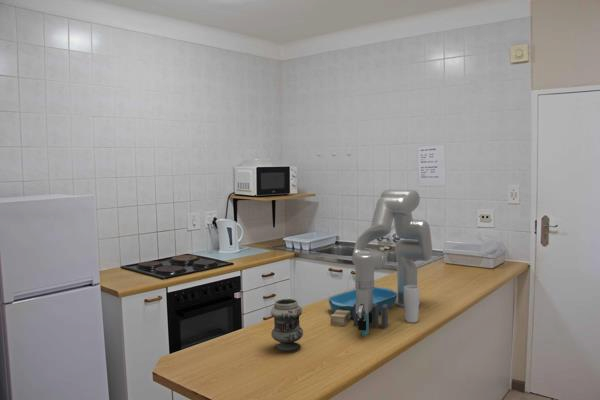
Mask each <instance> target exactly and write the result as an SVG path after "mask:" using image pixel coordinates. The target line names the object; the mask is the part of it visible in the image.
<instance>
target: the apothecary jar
mask: <svg viewBox="0 0 600 400" xmlns="http://www.w3.org/2000/svg"><path fill="white" fill-rule="evenodd" d="M270 314H271V316H272V317H273V318H274V319H273V320H274V322H273V323H274V324H273V325H274V326H273V327H274V328H273V329H272V331H271V332H270V333H271V335H270V336H271V338H272V339H273V340H275V341H276V342H279V343H277V344H275V346H274V350H275V351H276V352H279V353H282V354H283V353H284V354H285V353H286V354H287V353H288V354H290V353H294V352H298V351H299V350H301V348H302V347H301V344H300V343H298V342H297V341H299V340H300V339H301V338H303V336H304V330H303V328H302V327H301V326H300V316H301V315H302V314H303V308H302V307H301V306H300V305H299V303H298V300H297V299H294V298H280V299H277V300H275V301H274V306H273V307H272V308H271V309H270Z"/></svg>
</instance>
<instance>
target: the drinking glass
mask: <svg viewBox="0 0 600 400" xmlns="http://www.w3.org/2000/svg"><path fill="white" fill-rule="evenodd" d="M420 291H421V290H420V287H419V286H418V285H417V286H414V285H407V286H404V305H405V307H404V314H405V316H404V318H405V319H404V320H405V321H406V322H408V323H418V322H419V308H420V306H419V301H420V296H421V295H420V293H421V292H420Z"/></svg>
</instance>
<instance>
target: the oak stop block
mask: <svg viewBox="0 0 600 400" xmlns="http://www.w3.org/2000/svg"><path fill="white" fill-rule="evenodd" d="M351 319H352V318H351V313H350V311H348V310H336V311H335V312H334V311H333V313H332V314H331V315H330V326H334V327H346V325H347V324H348V323H349V322H350V321H351Z"/></svg>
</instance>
